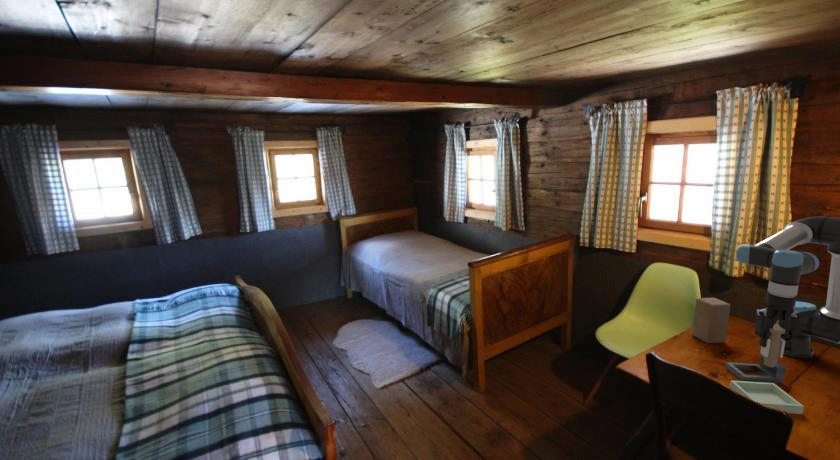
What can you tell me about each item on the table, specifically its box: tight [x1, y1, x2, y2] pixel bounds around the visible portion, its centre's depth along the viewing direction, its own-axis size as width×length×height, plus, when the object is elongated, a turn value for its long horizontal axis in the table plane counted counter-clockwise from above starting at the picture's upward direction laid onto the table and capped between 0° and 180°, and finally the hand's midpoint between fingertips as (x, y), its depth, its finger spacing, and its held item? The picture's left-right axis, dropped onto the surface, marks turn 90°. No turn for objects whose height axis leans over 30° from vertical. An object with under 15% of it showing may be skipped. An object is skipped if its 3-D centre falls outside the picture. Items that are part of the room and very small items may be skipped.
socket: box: [725, 355, 787, 385], centre depth 156 cm, size 15×11×7 cm
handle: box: [763, 323, 785, 367], centre depth 137 cm, size 5×6×15 cm
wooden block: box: [691, 297, 732, 344], centre depth 186 cm, size 10×10×20 cm
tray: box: [729, 380, 805, 415], centre depth 141 cm, size 15×14×3 cm
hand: (771, 355), depth 137 cm, fingers closed on handle, 4 cm apart
